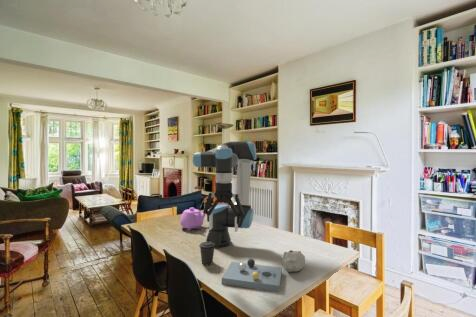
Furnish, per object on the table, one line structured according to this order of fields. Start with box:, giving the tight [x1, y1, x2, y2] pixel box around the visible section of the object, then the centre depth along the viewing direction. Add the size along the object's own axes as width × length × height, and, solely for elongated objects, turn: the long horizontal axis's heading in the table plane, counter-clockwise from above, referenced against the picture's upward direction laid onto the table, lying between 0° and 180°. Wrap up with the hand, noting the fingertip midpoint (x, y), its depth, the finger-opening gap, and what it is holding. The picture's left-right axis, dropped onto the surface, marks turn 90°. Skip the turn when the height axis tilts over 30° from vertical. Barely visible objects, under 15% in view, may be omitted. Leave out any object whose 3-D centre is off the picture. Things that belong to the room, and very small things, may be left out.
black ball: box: [246, 258, 256, 267], centre depth 113 cm, size 4×4×4 cm
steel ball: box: [238, 262, 246, 272], centre depth 109 cm, size 4×4×4 cm
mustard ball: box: [252, 272, 259, 280], centre depth 102 cm, size 3×3×3 cm
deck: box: [221, 261, 283, 293], centre depth 108 cm, size 24×16×2 cm, turn 76°
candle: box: [281, 250, 306, 273], centre depth 117 cm, size 9×11×15 cm
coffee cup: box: [198, 241, 216, 266], centre depth 122 cm, size 8×8×10 cm
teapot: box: [179, 207, 206, 232], centre depth 179 cm, size 20×20×15 cm
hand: (223, 230), depth 111 cm, fingers open, 11 cm apart
